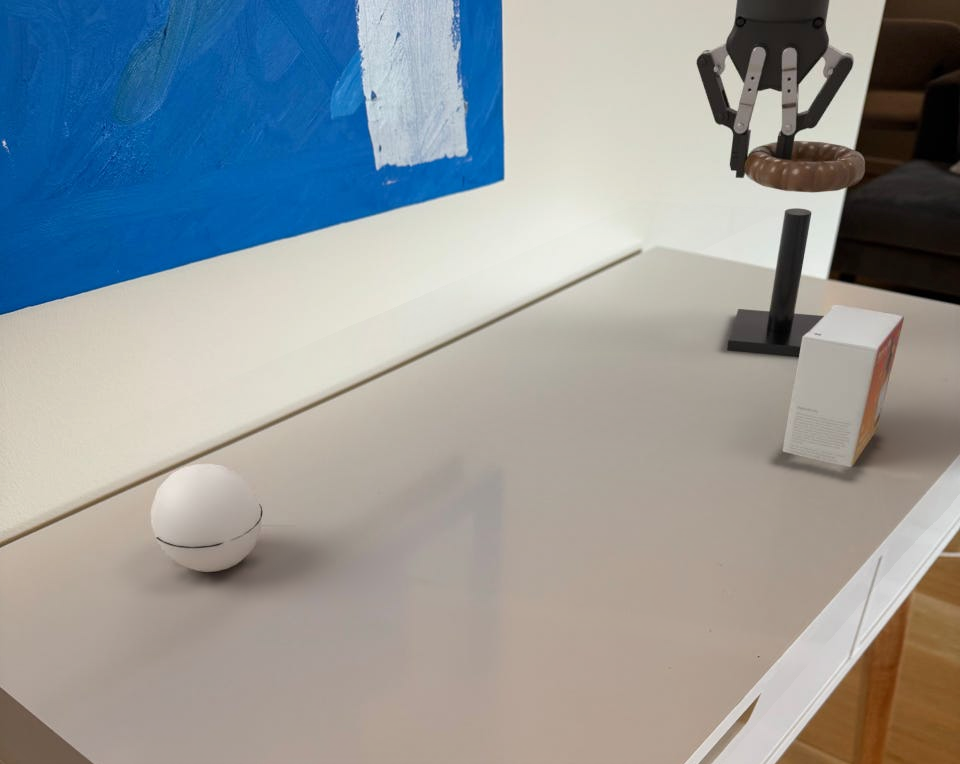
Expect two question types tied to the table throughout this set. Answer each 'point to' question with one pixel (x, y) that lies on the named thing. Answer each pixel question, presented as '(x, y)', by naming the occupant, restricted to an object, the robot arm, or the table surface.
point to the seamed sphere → (206, 517)
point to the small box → (841, 384)
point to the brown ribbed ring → (806, 167)
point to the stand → (779, 299)
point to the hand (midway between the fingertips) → (758, 176)
